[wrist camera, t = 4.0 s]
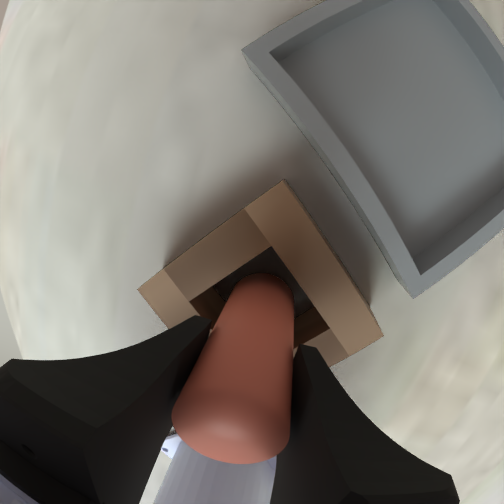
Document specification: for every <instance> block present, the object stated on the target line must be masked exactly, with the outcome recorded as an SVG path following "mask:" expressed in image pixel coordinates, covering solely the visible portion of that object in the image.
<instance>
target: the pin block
mask: <svg viewBox="0 0 504 504" xmlns="http://www.w3.org/2000/svg"><path fill="white" fill-rule="evenodd" d="M270 246H272V247H273V249H274V250H275V251H276V253H277V254H278V256H279V257H280V258H281V260H282V261H283V263H284V264H285V265H286V267H287V268H288V269H289V271H290V272H291V274H292V275H293V276H294V278H295V279H296V281H297V282H298V283H299V285H300V286H301V288H302V289H303V290H304V292H305V293H306V295H307V296H308V298H309V299H310V300H311V302H312V303H313V305H314V306H315V307H313V308H311V309H310V310H308V311H306V312H305V313H303V314H301V315H300V316H298V317H296V318H295V319H294V342H293V359H294V356H295V353H296V351H297V348H298V346H299V344H304V345H308V346H312V347H316V348H317V349H318V351H319V352H320V354H321V355H322V357H323V359H324V360H325V362H326V363H327V365H328V366H329V367H331V366H333V365H334V364H336V363H338V362H340V361H342V360H344V359H345V358H347V357H349V356H351V355H353V354H354V353H356V352H358V351H359V350H361V349H363V348H365V347H366V346H368V345H370V344H371V343H373V342H375V341H376V340H378V339H380V338H381V337H383V336H384V335H383V333H382V331H381V329H380V327H379V325H378V323H377V321H376V319H375V317H374V315H373V313H372V311H371V309H370V307H369V305H368V304H367V302H366V300H365V299H364V297H363V295H362V294H361V292H360V291H359V289H358V287H357V286H356V284H355V283H354V281H353V279H352V278H351V276H350V275H349V273H348V271H347V270H346V268H345V267H344V265H343V264H342V262H341V261H340V259H339V258H338V256H337V254H336V253H335V251H334V250H333V248H332V247H331V245H330V244H329V242H328V241H327V239H326V238H325V236H324V235H323V233H322V232H321V230H320V229H319V227H318V226H317V224H316V223H315V222H314V220H313V219H312V217H311V216H310V214H309V213H308V211H307V210H306V209H305V207H304V206H303V204H302V203H301V201H300V200H299V199H298V197H297V196H296V194H295V193H294V191H293V190H292V189H291V187H290V186H289V184H288V183H287V182H286V180H285V179H284V180H282V181H281V182H279V183H278V184H277V185H275V186H274V187H272V188H271V189H269V190H268V191H267V192H265V193H264V194H262V195H261V196H260V197H258V198H257V199H256V200H254V201H253V202H251V203H250V204H249V205H247V206H246V207H244V208H243V209H242V210H240V211H239V212H238V213H236V214H235V215H233V216H232V217H231V218H229V219H228V220H227V221H225V222H224V223H223V224H221V225H220V226H219V227H217V228H216V229H215V230H213V231H212V232H210V233H209V234H208V235H206V236H205V237H204V238H202V239H201V240H200V241H198V242H197V243H196V244H195V245H193V246H192V247H191V248H189V249H188V250H187V251H185V252H184V253H183V254H181V255H180V256H179V257H177V258H176V259H175V260H174V261H172V262H171V263H170V264H168V265H167V266H166V267H164V268H163V269H162V270H161V271H159V272H158V273H157V274H156V275H154V276H153V277H152V278H151V279H149V280H148V281H147V282H146V283H144V284H143V285H142V286H141V287H140V288H138V289H137V290H138V291H139V292H140V294H141V295H142V296H143V297H144V299H145V300H146V301H147V303H148V304H149V305H150V306H151V308H152V309H153V310H154V311H155V313H156V314H157V315H158V316H159V318H160V319H161V320H162V321H163V323H164V324H165V325H166V326H167V327H168V329H170V328H172V327H174V326H176V325H178V324H179V323H181V322H183V321H185V320H186V319H188V318H190V317H192V316H194V315H198V316H201V317H204V318H207V319H211V320H212V324H211V328H210V333H209V336H210V334H211V332H212V330H213V328H214V326H215V324H216V322H217V320H218V318H219V316H220V314H221V312H222V310H223V308H224V306H225V304H226V303H225V301H224V300H223V299H222V298H221V296H220V295H219V294H218V292H217V291H216V290H215V289H214V287H213V285H214V284H216V283H217V282H219V281H220V280H222V279H223V278H225V277H226V276H228V275H229V274H231V273H232V272H234V271H235V270H236V269H238V268H239V267H241V266H242V265H244V264H245V263H247V262H248V261H250V260H251V259H253V258H254V257H256V256H257V255H259V254H260V253H262V252H263V251H265V250H266V249H268V248H269V247H270Z"/></svg>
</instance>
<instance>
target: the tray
mask: <svg viewBox="0 0 504 504" xmlns="http://www.w3.org/2000/svg"><path fill="white" fill-rule="evenodd" d="M242 53H243V55H244V57H245V59H246V61H247V63H248V65H249V68H250V69H251V70H252V71H253V72H254V73H255V75H256V76H257V77H258V78H259V79H260V80H261V82H262V83H263V84H264V85H265V86H266V87H267V89H268V90H269V91H270V92H271V93H272V95H273V96H274V97H275V98H276V100H277V101H278V102H279V103H280V105H281V106H282V107H283V108H284V110H285V111H286V112H287V113H288V115H289V116H290V117H291V118H292V120H293V121H294V122H295V124H296V125H297V126H298V128H299V129H300V130H301V132H302V133H303V134H304V136H305V137H306V138H307V140H308V141H309V142H310V144H311V145H312V146H313V148H314V149H315V150H316V152H317V153H318V155H319V156H320V157H321V159H322V160H323V162H324V163H325V164H326V166H327V167H328V169H329V170H330V172H331V173H332V175H333V176H334V177H335V179H336V180H337V182H338V183H339V185H340V186H341V188H342V189H343V191H344V192H345V194H346V195H347V197H348V198H349V200H350V202H351V203H352V205H353V206H354V208H355V209H356V211H357V212H358V214H359V216H360V217H361V219H362V220H363V222H364V224H365V225H366V227H367V229H368V230H369V232H370V233H371V235H372V237H373V238H374V240H375V242H376V243H377V245H378V247H379V249H380V250H381V252H382V254H383V255H384V257H385V259H386V261H387V262H388V264H389V266H390V268H391V270H392V271H393V273H394V275H395V277H396V279H397V280H398V282H399V283H400V284H401V285H402V286H403V287H404V289H405V290H406V291H407V292H408V293H409V295H410V296H411V297H412V298H413V299H414V298H415V297H417V296H418V295H420V294H421V293H422V292H424V291H425V290H427V289H428V288H429V287H431V286H432V285H434V284H435V283H436V282H438V281H439V280H440V279H442V278H443V277H444V276H446V275H447V274H448V273H450V272H451V271H452V270H454V269H455V268H456V267H458V266H459V265H460V264H461V263H463V262H464V261H465V260H466V259H468V258H469V257H470V256H471V255H473V254H474V253H475V252H476V251H478V250H479V249H480V248H481V247H482V246H484V245H485V244H486V243H487V242H488V241H489V240H491V239H492V238H493V237H494V236H495V235H496V234H498V233H499V232H500V231H501V230H502V229H503V228H504V47H503V45H502V44H501V42H500V41H499V39H498V38H497V36H496V35H495V34H494V32H493V31H492V29H491V28H490V27H489V25H488V24H487V23H486V21H485V20H484V19H483V17H482V16H481V15H480V13H479V12H478V11H477V10H476V8H475V7H474V6H473V5H472V3H471V2H470V1H469V0H326V1H324V2H322V3H320V4H318V5H316V6H314V7H312V8H310V9H308V10H306V11H305V12H303V13H301V14H299V15H297V16H295V17H294V18H292V19H290V20H288V21H287V22H285V23H283V24H281V25H280V26H278V27H276V28H275V29H273V30H271V31H270V32H268V33H266V34H265V35H263V36H262V37H260V38H258V39H257V40H255V41H254V42H252V43H251V44H249V45H248V46H246V47H245V48H243V49H242Z"/></svg>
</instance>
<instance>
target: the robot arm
mask: <svg viewBox="0 0 504 504" xmlns="http://www.w3.org/2000/svg"><path fill="white" fill-rule="evenodd" d="M211 324H212V320H211V319H207V318H204V317H201V316H198V315H194V316H192V317H190V318H188V319H186V320H185V321H183V322H181V323H179V324H178V325H176V326H174V327H172V328H170V329H168V330H166V331H164V332H163V333H161V334H159V335H157V336H154V337H152V338H150V339H148V340H145V341H143V342H141V343H138V344H136V345H133V346H130V347H127V348H124V349H120V350H117V351H114V352H110V353H105V354H100V355H95V356H90V357H84V358H77V359H67V360H19V359H11V360H9V361H8V362H7V363H5V364H4V365H3V366H2V367H0V504H139V502H140V500H141V497H142V495H143V492H144V489H145V487H146V484H147V482H148V479H149V477H150V474H151V472H152V469H153V467H154V464H155V462H156V460H157V457H158V455H159V453H160V450H161V451H163V452H164V453H165V454H166V455H167V456H169V457H170V458H171V459H172V461H171V463H170V466H169V468H168V470H167V473H166V475H165V477H164V480H163V482H162V484H161V486H160V489H159V491H158V493H157V496H156V498H155V500H154V503H153V504H459V502H460V500H459V497H458V494H457V491H456V488H455V485H454V482H453V479H452V476H451V475H450V474H448V473H446V472H444V471H442V470H440V469H438V468H436V467H434V466H432V465H430V464H428V463H426V462H424V461H422V460H421V459H419V458H417V457H416V456H414V455H413V454H411V453H410V452H408V451H407V450H405V449H404V448H402V447H401V446H400V445H398V444H397V443H396V442H394V441H393V440H392V439H391V438H390V437H388V436H387V435H386V434H385V433H384V432H382V431H381V430H380V429H379V428H378V427H377V426H376V425H375V424H374V423H373V422H372V421H371V420H370V419H369V418H368V417H367V416H366V415H365V414H364V413H363V412H362V411H361V410H360V409H359V408H358V406H357V405H356V404H355V403H354V402H353V400H352V399H351V398H350V397H349V395H348V394H347V393H346V391H345V390H344V389H343V387H342V386H341V385H340V383H339V382H338V380H337V379H336V377H335V376H334V374H333V373H332V371H331V370H330V368H329V366H328V365H327V363H326V362H325V360H324V359H323V357H322V355H321V354H320V352H319V351H318V349H317V348H316V347H312V346H308V345H304V344H299V346H298V348H297V351H296V353H295V356H294V359H293V375H292V399H291V419H290V437H289V441H288V443H287V445H286V447H285V448H284V449H283V450H282V451H281V452H280V453H279V454H277V456H274V457H272V458H270V459H268V460H265V461H262V462H258V463H252V464H233V463H226V462H221V461H218V460H214V459H211V458H209V457H207V456H204V455H202V454H200V453H198V452H197V451H195V450H194V449H192V448H191V447H190V446H188V445H187V444H186V443H185V442H184V441H183V440H182V439H181V438H180V437H179V435H178V434H174V435H171V436H167V435H168V433H169V431H170V430H171V428H172V426H173V423H172V418H171V415H172V410H173V407H174V405H175V403H176V401H177V399H178V397H179V395H180V393H181V391H182V389H183V387H184V385H185V383H186V381H187V379H188V377H189V375H190V373H191V371H192V369H193V367H194V365H195V363H196V361H197V359H198V357H199V355H200V354H201V352H202V350H203V348H204V346H205V344H206V342H207V340H208V338H209V333H210V328H211Z"/></svg>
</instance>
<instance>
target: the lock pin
mask: <svg viewBox="0 0 504 504" xmlns="http://www.w3.org/2000/svg"><path fill="white" fill-rule="evenodd" d="M293 342H294V297H293V294H292V291H291V289H290V288H289V286H288V285H287V284H286V283H285V282H284V281H283V280H281V279H280V278H278V277H276V276H274V275H271V274H267V273H255V274H251V275H248V276H246V277H244V278H242V279H241V280H240V281H239V282H238V283H237V284H236V285H235V287H234V289H233V290H232V292H231V294H230V296H229V298H228V300H227V302H226V304H225V306H224V308H223V310H222V312H221V314H220V316H219V318H218V320H217V322H216V324H215V326H214V328H213V330H212V332H211V334H210V336H209V338H208V340H207V342H206V344H205V346H204V348H203V350H202V352H201V354H200V355H199V357H198V359H197V361H196V363H195V365H194V367H193V369H192V371H191V373H190V375H189V377H188V379H187V381H186V383H185V385H184V387H183V389H182V391H181V393H180V395H179V397H178V399H177V401H176V403H175V405H174V407H173V410H172V415H171V418H172V423H173V427H174V429H175V431H176V432H177V434H178V435H179V437H180V438H181V439H182V440H183V441H184V442H185V443H186V444H187V445H188V446H190V447H191V448H192V449H194V450H195V451H197V452H198V453H200V454H202V455H204V456H207V457H209V458H211V459H214V460H218V461H221V462H226V463H233V464H252V463H258V462H262V461H265V460H268V459H270V458H272V457H274V456H276V455H277V454H279V453H280V452H281V451H282V450H283V449H284V448H285V447H286V445H287V443H288V441H289V437H290V419H291V399H292V375H293Z"/></svg>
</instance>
